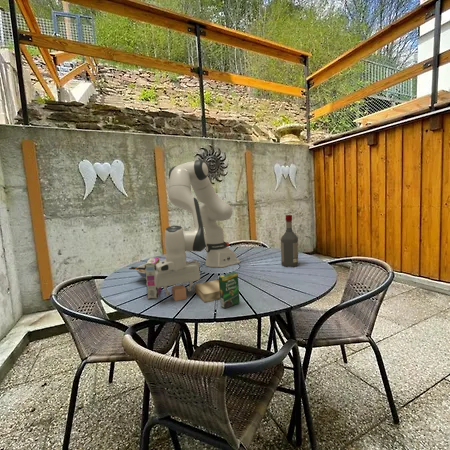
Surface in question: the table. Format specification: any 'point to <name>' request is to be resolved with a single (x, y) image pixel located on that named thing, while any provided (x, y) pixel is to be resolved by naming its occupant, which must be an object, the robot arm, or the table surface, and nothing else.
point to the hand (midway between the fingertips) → (178, 293)
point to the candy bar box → (151, 278)
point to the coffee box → (229, 290)
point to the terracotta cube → (179, 292)
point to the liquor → (289, 245)
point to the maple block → (208, 290)
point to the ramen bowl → (140, 270)
